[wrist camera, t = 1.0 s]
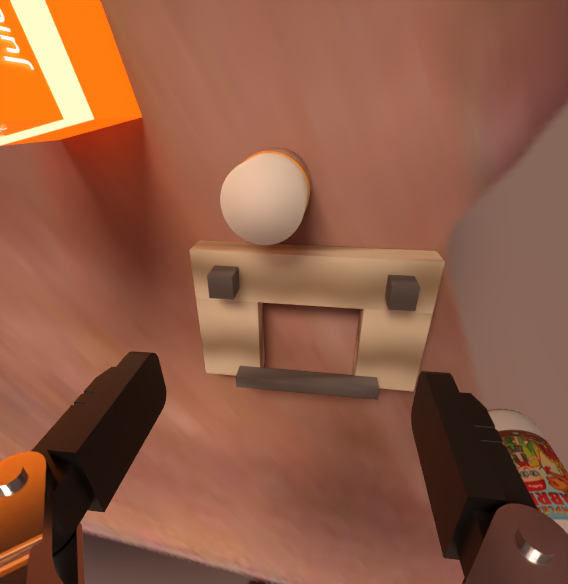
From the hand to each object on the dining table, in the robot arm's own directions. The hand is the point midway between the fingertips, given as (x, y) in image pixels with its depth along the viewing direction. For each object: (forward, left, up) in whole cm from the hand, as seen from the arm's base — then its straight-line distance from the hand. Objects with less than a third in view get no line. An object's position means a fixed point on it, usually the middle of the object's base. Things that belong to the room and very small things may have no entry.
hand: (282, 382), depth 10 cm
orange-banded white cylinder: (-2, -3, -20) cm, 20 cm away
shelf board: (+9, 0, -20) cm, 22 cm away
